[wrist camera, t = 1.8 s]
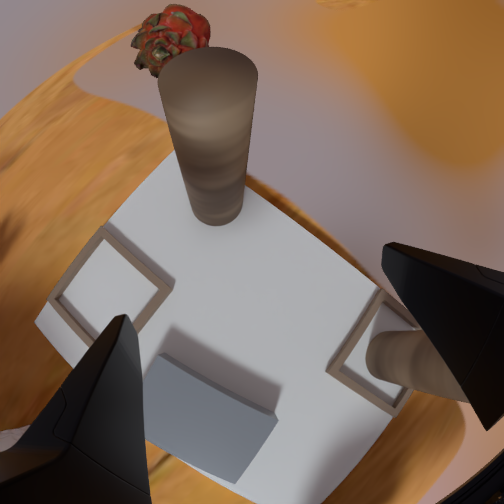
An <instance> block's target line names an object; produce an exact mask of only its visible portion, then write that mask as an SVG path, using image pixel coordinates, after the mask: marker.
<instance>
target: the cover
mask: <svg viewBox="0 0 504 504" xmlns="http://www.w3.org/2000/svg"><path fill="white" fill-rule="evenodd" d="M143 410H144V431H145V439H146V440H147V441H149V442H151V443H152V444H154V445H156V446H158V447H159V448H161V449H163V450H165V451H166V452H168V453H170V454H172V455H174V456H175V457H177V458H179V459H181V460H183V461H185V462H187V463H189V464H191V465H193V466H195V467H197V468H199V469H201V470H203V471H205V472H207V473H210V474H212V475H214V476H216V477H219V478H221V479H223V480H225V481H228V482H230V483H233V484H236V482H237V481H238V480H239V478H240V477H241V476H242V474H243V473H244V472H245V470H246V469H247V467H248V466H249V465H250V463H251V462H252V460H253V459H254V457H255V456H256V455H257V453H258V452H259V450H260V449H261V447H262V446H263V444H264V443H265V441H266V440H267V438H268V437H269V435H270V434H271V432H272V431H273V429H274V427H275V426H276V424H277V423H278V421H279V420H278V418H277V416H276V414H275V413H274V412H272V411H270V410H268V409H266V408H264V407H262V406H260V405H258V404H256V403H254V402H252V401H250V400H248V399H246V398H244V397H242V396H240V395H238V394H236V393H234V392H232V391H230V390H228V389H226V388H224V387H223V386H221V385H219V384H217V383H215V382H213V381H212V380H210V379H208V378H206V377H205V376H203V375H201V374H199V373H198V372H196V371H194V370H192V369H191V368H189V367H187V366H186V365H184V364H182V363H181V362H179V361H178V360H176V359H174V358H173V357H171V356H169V355H168V354H166V353H165V352H164V353H162V354H159V355H158V356H157V358H156V359H155V361H154V363H153V365H152V366H151V368H150V370H149V372H148V374H147V375H146V377H145V379H144V381H143Z"/></svg>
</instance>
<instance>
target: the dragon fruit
mask: <svg viewBox="0 0 504 504" xmlns="http://www.w3.org/2000/svg"><path fill="white" fill-rule="evenodd" d="M138 32H139V33H138V34H137V35H136V36H135V37H134V38H133V40H132V42H131V47H133V48H136V49H140V51H139V53H138V55H137V58H136V60H135V62H134V64H135V65H136V67H137V68H138V69H139V70H141V69H143V68H149V71H150V73H151V75H152V76H154V77H156V78H158V76H159V74H160V72H161V70H162V68H163V67H164V66H165V65H166V64H167V63H168V62H169V61H170V60H172V59H173V58H174V57H176V56H178V55H180V54H182V53H184V52H187V51H189V50H193V49H197V48H203V47H209V45H208V43H209V39H210V25H209V22H208V20H207V19H206V18H205V17H204V16H202V15H201V14H197V13H195V12H194V11H193V10H191V9H190V8H188V7H185V6H182V5H177V4H170V5H168V6H167V7H166V8H165V9H164V11H163V13H159V14H151V15H150V16H149V17H148V18H147V19H146V20H144V21H143V23H142V28H141V29H139V30H138Z"/></svg>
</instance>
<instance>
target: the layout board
mask: <svg viewBox="0 0 504 504" xmlns="http://www.w3.org/2000/svg"><path fill="white" fill-rule="evenodd" d="M46 300H47V303H46V305H45V306H44V308H43V309H42V311H41V312H40V314H39V315H38V317H37V319H36V320H35V322H34V323H35V324H36V325H37V327H38V328H39V329H40V330H41V332H42V333H43V334H44V335H45V337H46V338H47V339H48V340H49V342H50V343H51V344H52V345H53V346H54V347H55V349H56V350H57V351H58V352H59V353H60V354H61V356H62V357H63V358H64V359H65V360H66V361H67V362H68V363H69V364H70V365H71V367H72V368H73V369H74V367H75V366H76V365H77V363H78V362H79V361H80V359H81V358H82V357H83V355H84V354H85V353H86V352H87V350H88V349H89V348H90V346H91V345H92V344H93V343H94V341H95V340H96V339H97V338H98V336H99V335H100V334H101V332H102V331H103V330H104V329H105V327H106V326H107V325H108V324H109V323H110V321H111V320H112V319H113V318H114V317H115V316H117V315H121V314H127V315H128V316H129V318H130V320H131V322H132V324H133V326H134V328H135V330H136V332H137V334H138V339H139V350H140V359H141V368H142V377H143V381H144V379H145V377H146V375H147V374H148V372H149V370H150V368H151V366H152V365H153V363H154V361H155V359H156V358H157V356H158V355H159V354H162V353H164V352H165V353H166V354H168V355H169V356H171V357H173V358H174V359H176V360H178V361H179V362H181V363H182V364H184V365H186V366H187V367H189V368H191V369H192V370H194V371H196V372H198V373H199V374H201V375H203V376H205V377H206V378H208V379H210V380H212V381H213V382H215V383H217V384H219V385H221V386H223V387H224V388H226V389H228V390H230V391H232V392H234V393H236V394H238V395H240V396H242V397H244V398H246V399H248V400H250V401H252V402H254V403H256V404H258V405H260V406H262V407H264V408H266V409H268V410H270V411H272V412H274V413H275V414H276V416H277V418H278V420H279V421H278V423H277V424H276V426H275V427H274V429H273V431H272V432H271V434H270V435H269V437H268V438H267V440H266V441H265V443H264V444H263V446H262V447H261V449H260V450H259V452H258V453H257V455H256V456H255V457H254V459H253V460H252V462H251V463H250V465H249V466H248V467H247V469H246V470H245V472H244V473H243V474H242V476H241V477H240V478H239V480H238V481H237V482H236V484H233V483H230V482H228V481H225V480H223V479H221V478H219V477H216V476H214V475H212V474H210V473H207V472H205V471H203V470H201V469H199V468H197V467H195V466H193V465H191V464H189V463H187V462H185V461H183V460H182V461H183V462H185V463H186V464H188V465H189V466H191V467H192V468H194V469H195V470H197V471H199V472H200V473H202V474H203V475H205V476H207V477H208V478H210V479H212V480H213V481H215V482H217V483H219V484H220V485H222V486H224V487H226V488H228V489H229V490H231V491H233V492H235V493H237V494H239V495H241V496H243V497H245V498H247V499H249V500H251V501H253V502H255V503H257V504H321V503H322V502H323V501H324V500H325V499H326V498H327V497H328V496H329V495H330V494H331V493H332V492H333V491H334V490H335V488H336V487H337V486H338V485H339V484H340V483H341V482H342V481H343V480H344V479H345V478H346V476H347V475H348V474H349V473H350V472H351V471H352V470H353V468H354V467H355V466H356V465H357V464H358V463H359V461H360V460H361V459H362V458H363V456H364V455H365V454H366V453H367V452H368V450H369V449H370V448H371V446H372V445H373V444H374V443H375V441H376V440H377V439H378V437H379V436H380V435H381V433H382V432H383V431H384V429H385V428H386V426H387V425H388V424H389V422H390V421H391V419H392V418H393V417H395V418H396V417H397V415H398V414H399V412H400V411H401V409H402V408H403V406H404V405H405V403H406V402H407V400H408V399H409V397H410V395H411V394H412V392H413V391H414V389H410V388H407V387H403V386H400V385H396V384H393V383H389V382H386V381H383V380H379V379H377V378H375V377H373V376H372V375H371V374H370V373H369V371H368V369H367V366H366V361H365V357H366V351H367V348H368V345H369V344H370V342H371V341H372V339H373V338H374V337H375V336H376V335H378V334H379V333H381V332H384V331H407V330H422V328H421V327H420V325H419V324H418V323H417V321H416V320H415V319H414V317H413V316H412V314H411V313H410V312H409V311H408V310H407V309H406V308H405V307H404V306H403V305H401V304H400V303H399V302H398V301H397V300H395V299H394V298H393V297H392V296H391V295H389V294H388V293H387V292H386V291H385V290H383V289H380V288H379V287H378V286H377V285H376V284H374V283H373V282H372V281H371V280H369V279H368V278H367V277H366V276H364V275H363V274H362V273H361V272H359V271H358V270H357V269H356V268H354V267H353V266H352V265H351V264H349V263H348V262H347V261H346V260H344V259H343V258H342V257H341V256H339V255H338V254H337V253H336V252H334V251H333V250H332V249H330V248H329V247H328V246H327V245H325V244H324V243H323V242H321V241H320V240H319V239H317V238H316V237H315V236H314V235H312V234H311V233H310V232H308V231H307V230H306V229H304V228H303V227H302V226H300V225H299V224H298V223H296V222H295V221H294V220H292V219H291V218H290V217H288V216H287V215H286V214H284V213H283V212H282V211H280V210H279V209H277V208H276V207H275V206H273V205H272V204H271V203H269V202H268V201H267V200H265V199H264V198H262V197H261V196H260V195H258V194H257V193H255V192H254V191H253V190H251V189H250V188H248V187H247V186H246V185H245V188H244V197H243V205H242V209H241V212H240V213H239V215H238V216H237V218H236V219H234V220H233V221H232V222H230V223H228V224H226V225H223V226H210V225H206V224H204V223H202V222H201V221H199V220H198V219H197V218H196V217H195V215H194V213H193V211H192V208H191V205H190V202H189V198H188V195H187V191H186V188H185V185H184V181H183V178H182V174H181V171H180V167H179V164H178V160H177V156H176V153H175V150H174V151H173V152H172V153H171V154H170V155H169V156H168V157H167V158H166V159H165V160H164V161H163V162H162V163H161V164H160V165H159V166H158V167H157V168H156V169H155V170H154V171H153V172H152V173H151V174H150V175H149V176H148V177H147V178H146V179H145V180H144V181H143V182H142V183H141V184H140V185H139V187H138V188H137V189H136V190H135V191H134V192H133V193H132V194H131V195H130V196H129V197H128V199H127V200H126V201H125V202H124V203H123V204H122V205H121V206H120V208H119V209H118V210H117V211H116V212H115V213H114V215H113V216H112V217H111V218H110V219H109V220H108V222H107V223H106V224H105V225H104V226H100V228H99V229H98V230H97V231H96V233H95V234H94V235H93V236H92V238H91V239H90V240H89V241H88V243H87V244H86V245H85V246H84V248H83V249H82V250H81V252H80V253H79V254H78V255H77V257H76V258H75V259H74V261H73V262H72V263H71V265H70V266H69V268H68V269H67V270H66V272H65V273H64V274H63V276H62V277H61V279H60V280H59V281H58V283H57V284H56V286H55V287H54V289H53V290H52V292H51V293H50V295H49V296H48V298H47V299H46ZM180 460H181V459H180Z"/></svg>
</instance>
